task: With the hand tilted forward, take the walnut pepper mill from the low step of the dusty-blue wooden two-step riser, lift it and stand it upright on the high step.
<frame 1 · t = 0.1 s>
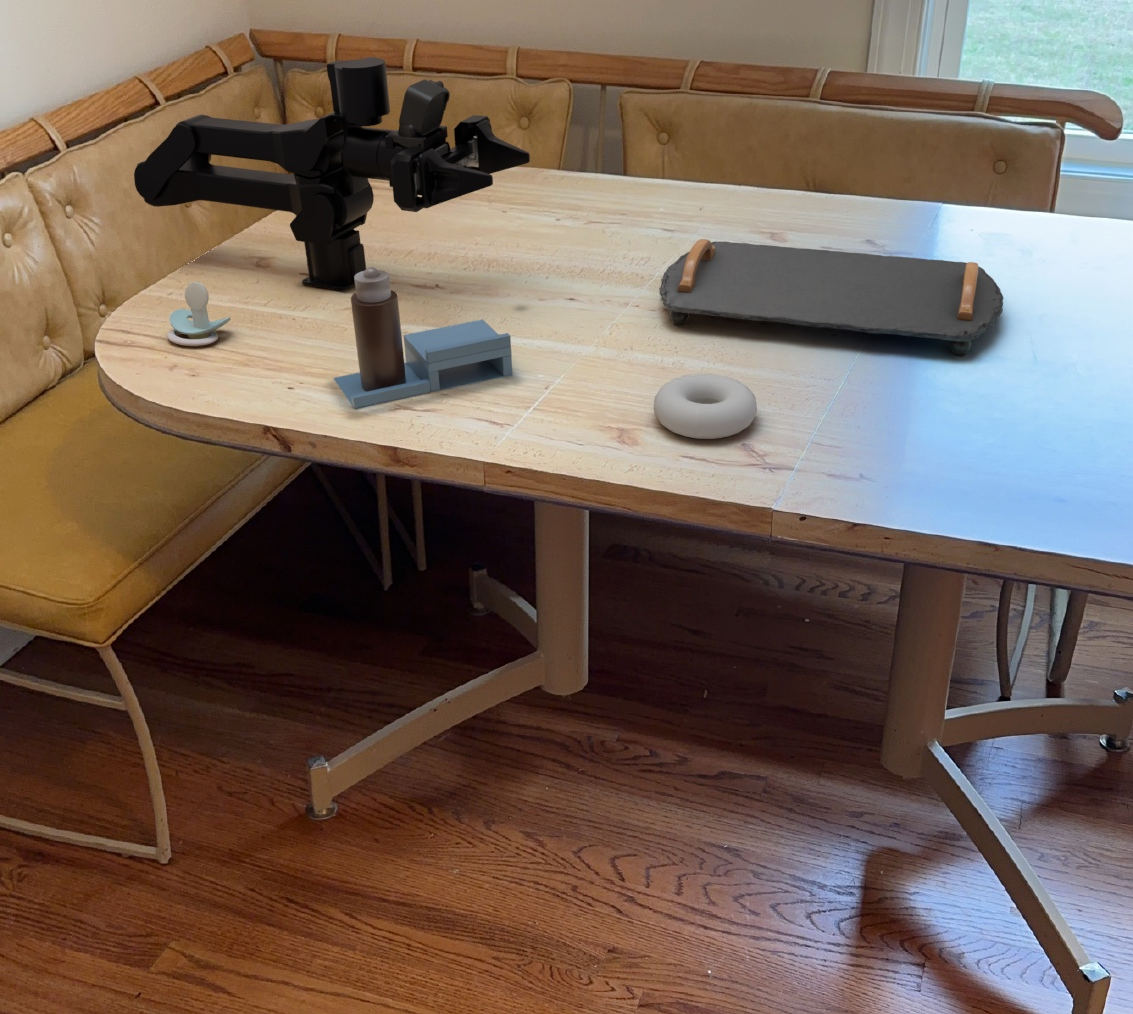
hand: (511, 168, 134), 17 cm above the table, tool horizontal, fingers open, 9 cm apart
serving tray: (825, 309, 141), on the table
pacifier: (198, 339, 138), on the table
riser: (423, 382, 126), on the table
pepper mill: (384, 384, 124), point 1 cm above the table, touching riser
donut: (704, 422, 118), on the table
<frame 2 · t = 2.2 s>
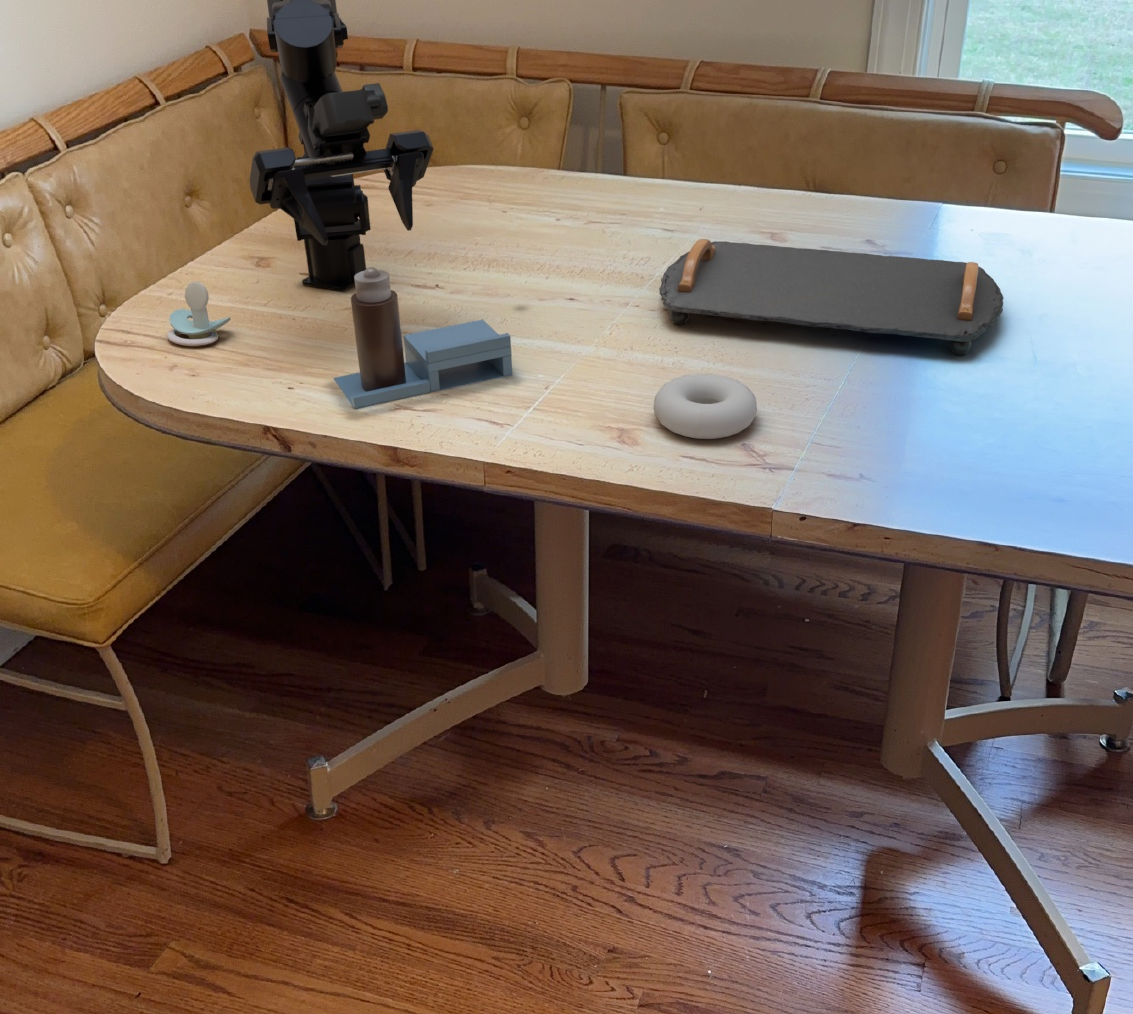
hand: (368, 235, 124), 14 cm above the table, tool tilted 50°, fingers open, 9 cm apart
nothing on the table moved.
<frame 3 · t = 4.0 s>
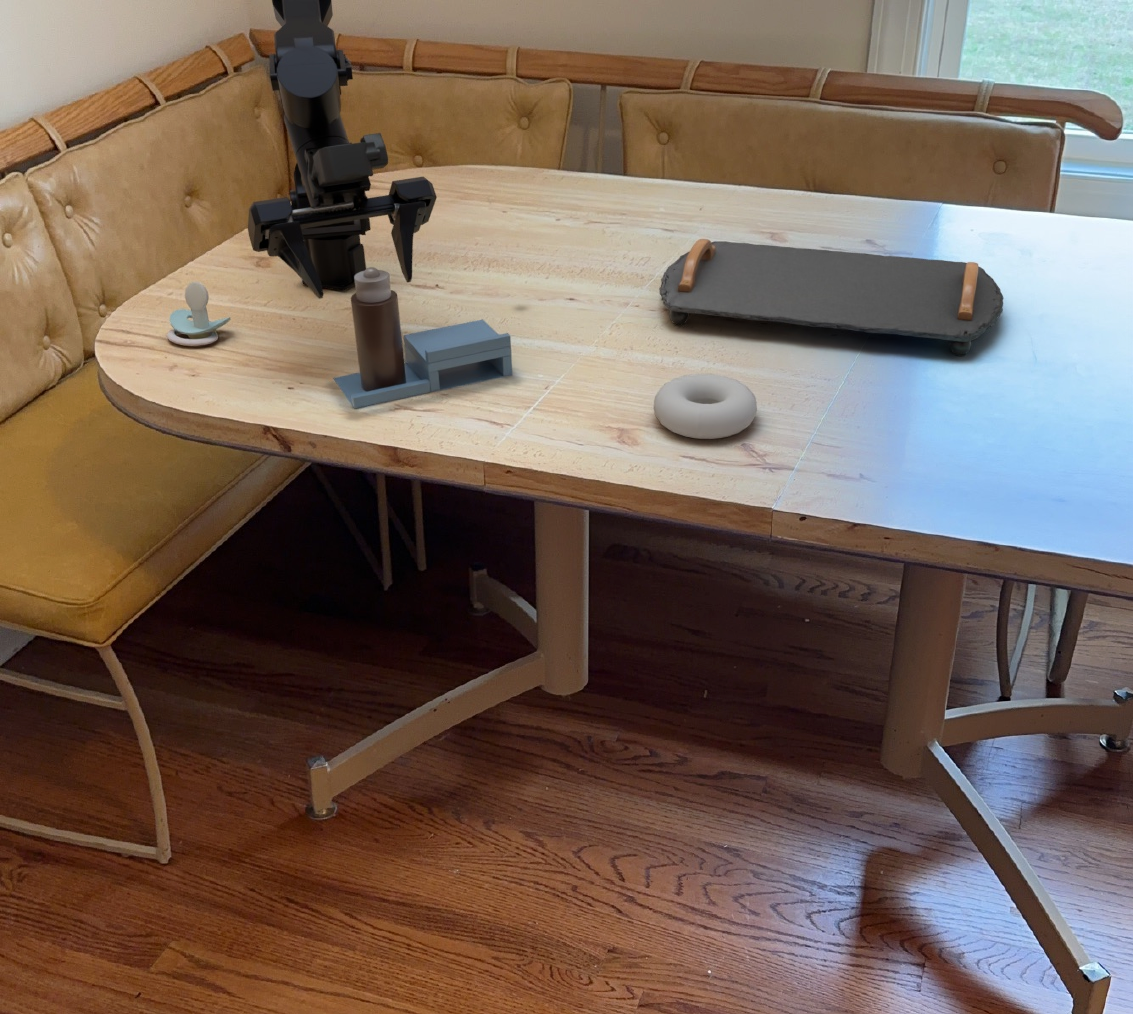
hand: (366, 288, 121), 10 cm above the table, tool tilted 45°, fingers open, 9 cm apart
nothing on the table moved.
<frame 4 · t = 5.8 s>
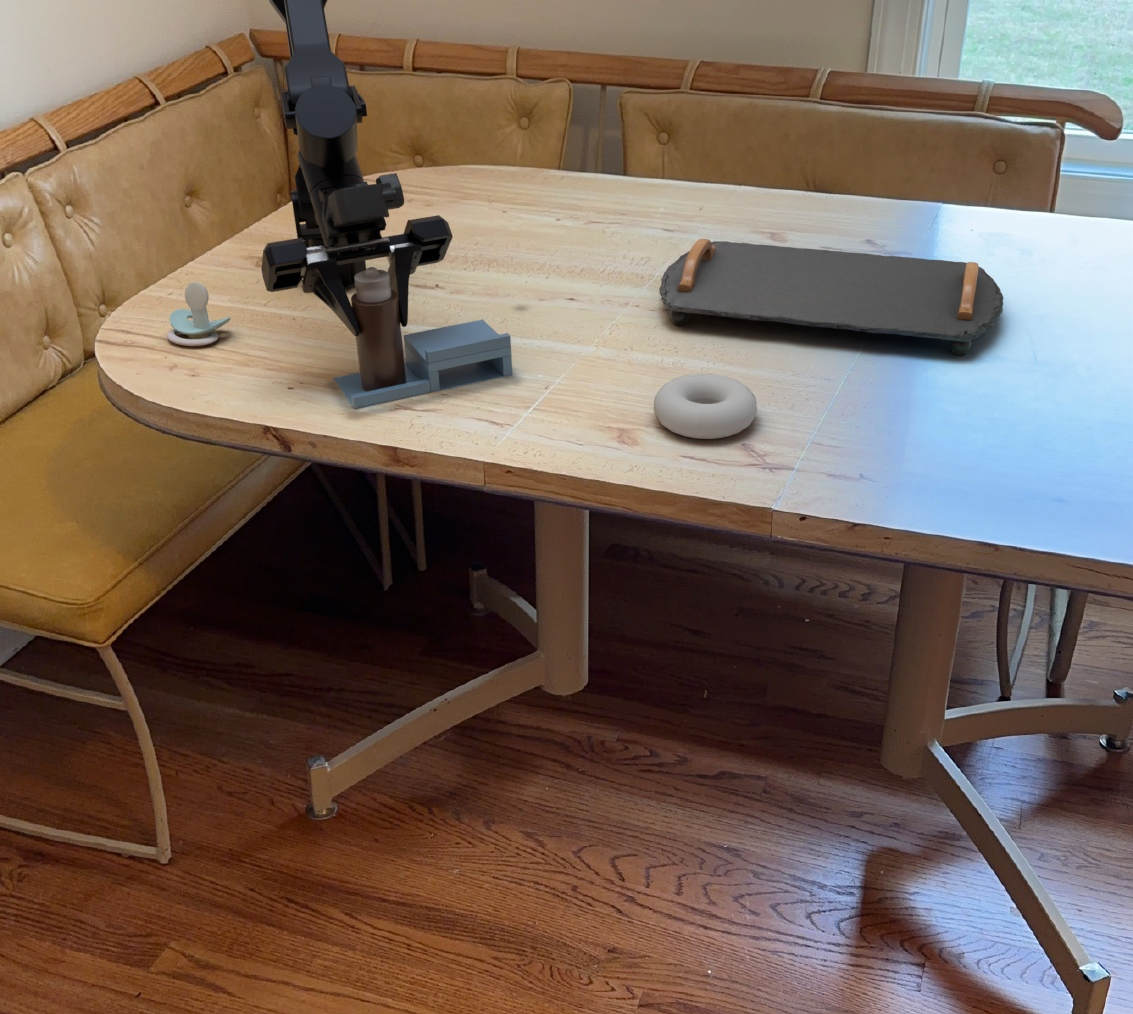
hand: (381, 329, 120), 7 cm above the table, tool tilted 45°, fingers closed on pepper mill, 4 cm apart
pepper mill: (384, 384, 124), point 1 cm above the table, touching gripper, riser
everything else where it was.
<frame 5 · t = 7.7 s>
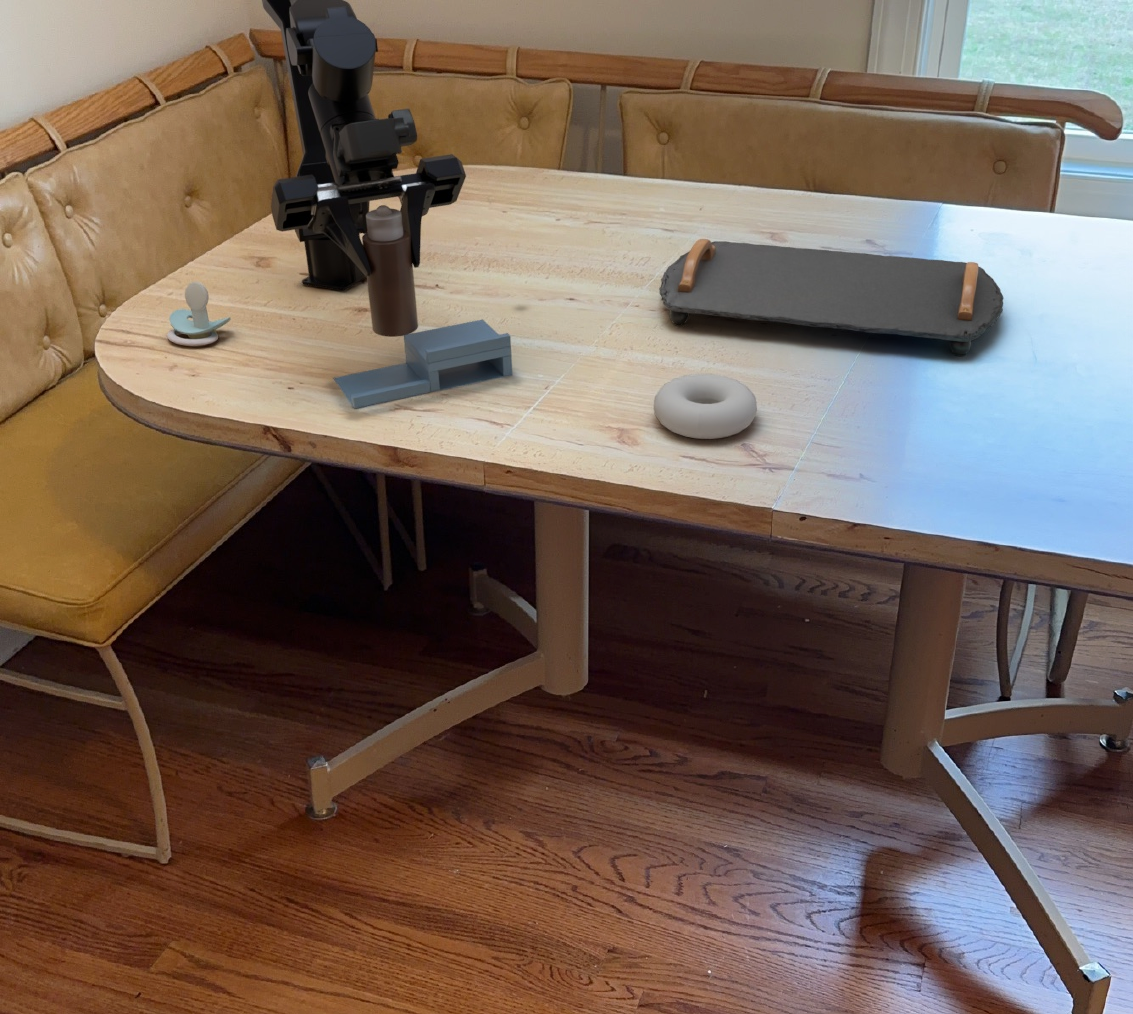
hand: (393, 270, 118), 13 cm above the table, tool tilted 45°, fingers closed on pepper mill, 4 cm apart
pepper mill: (395, 327, 122), point 7 cm above the table, touching gripper
everything else where it was.
when the fingers open (11 cm above the table, at t = 10.0 s): pepper mill stays where it is, resting on riser.
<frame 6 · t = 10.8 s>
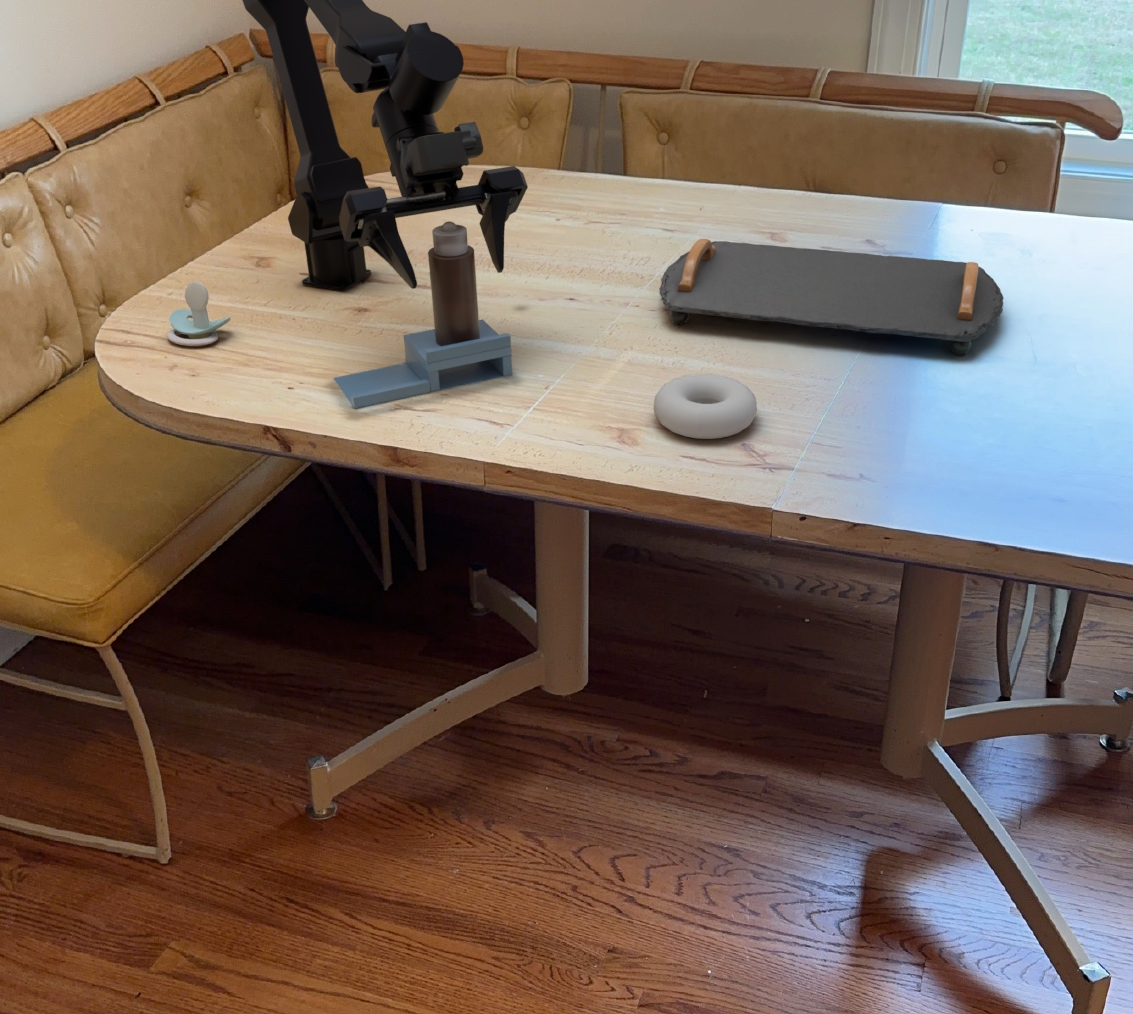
hand: (458, 278, 121), 11 cm above the table, tool tilted 45°, fingers open, 9 cm apart
pepper mill: (457, 339, 126), point 4 cm above the table, touching riser
everything else where it was.
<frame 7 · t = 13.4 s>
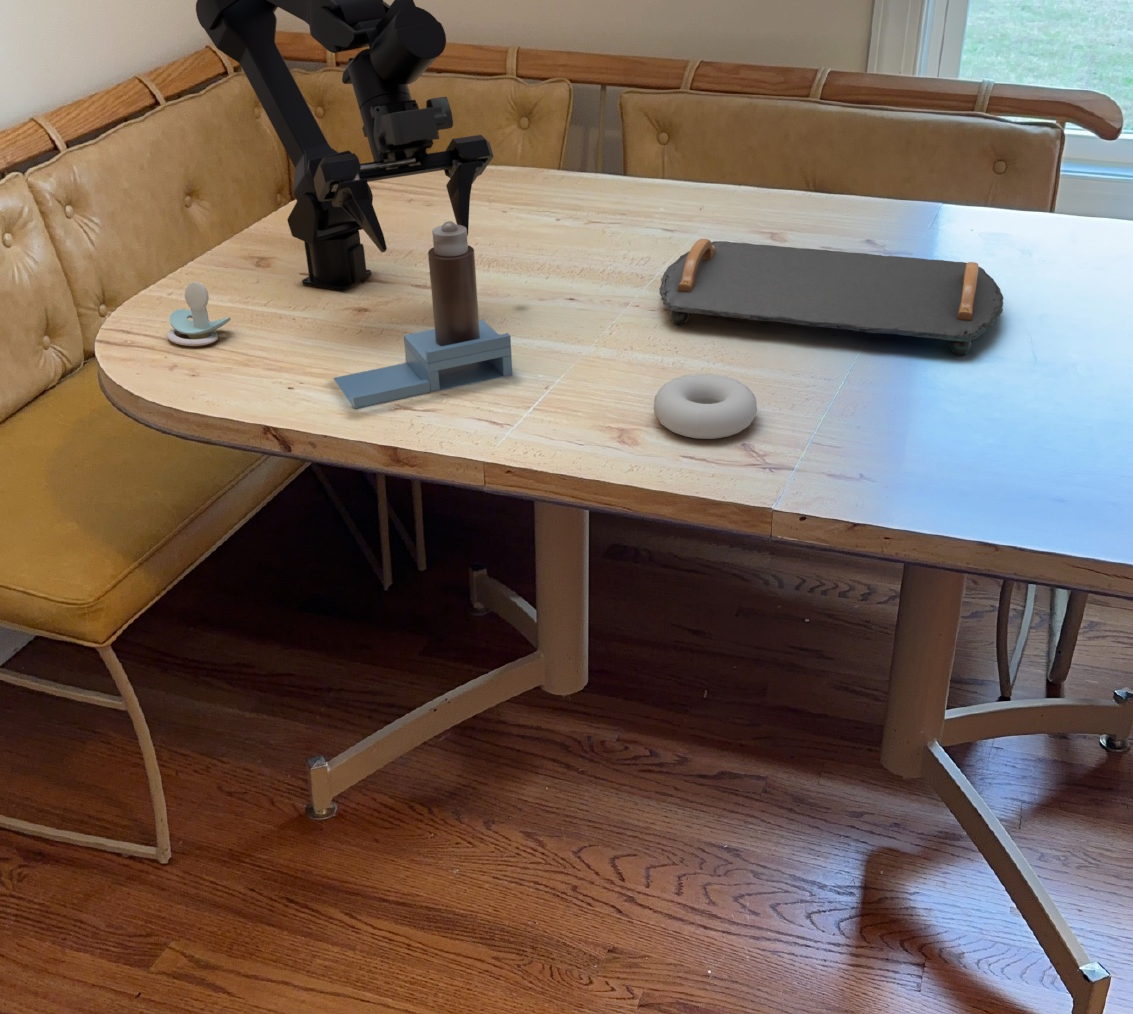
hand: (425, 243, 129), 11 cm above the table, tool tilted 35°, fingers open, 9 cm apart
nothing on the table moved.
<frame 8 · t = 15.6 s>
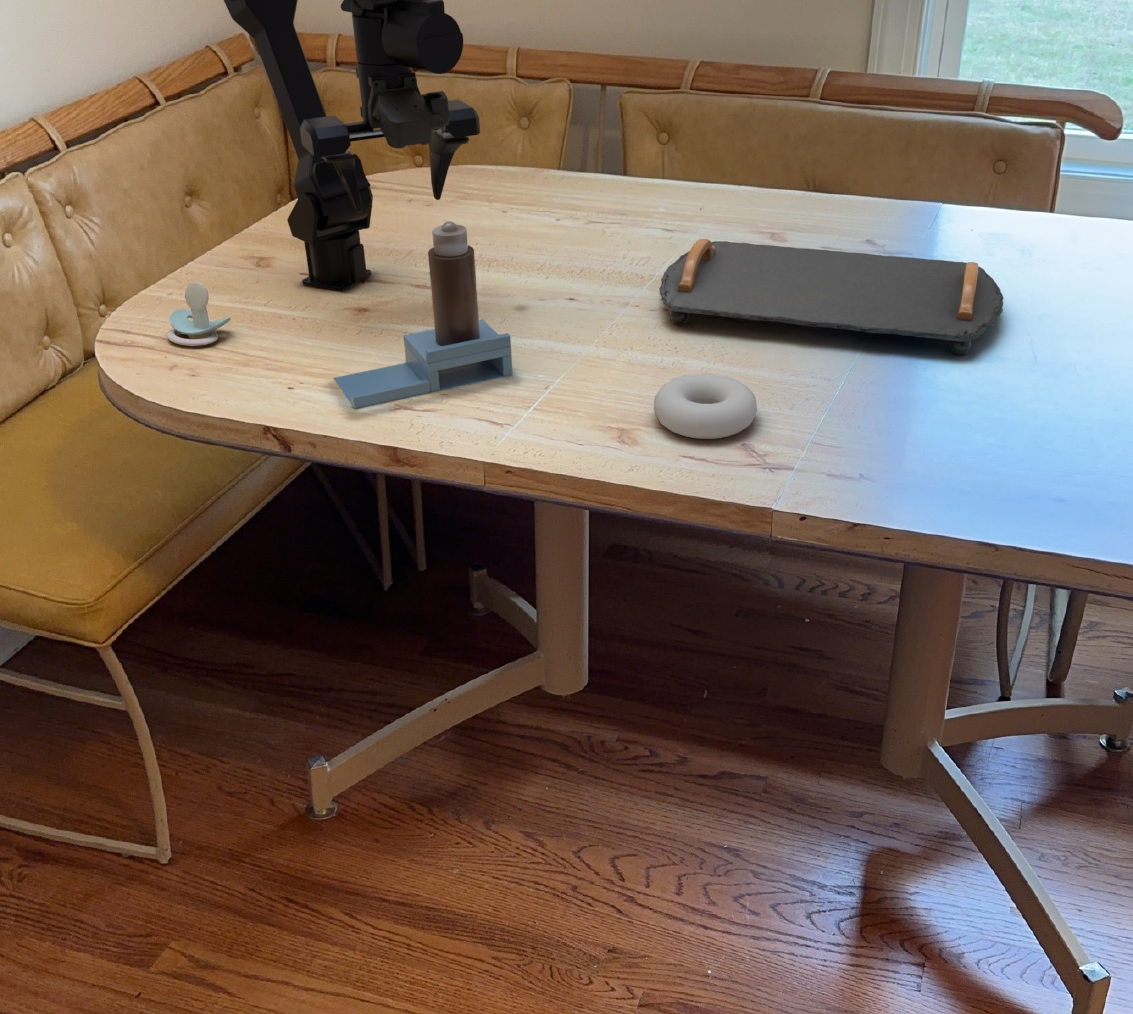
hand: (398, 205, 136), 13 cm above the table, tool pointing down, fingers open, 9 cm apart
nothing on the table moved.
at the end: pepper mill 0.2 cm from the target spot on the riser, point 4.0 cm above the riser's base; pepper mill tilted 0°; the gripper is holding nothing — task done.
